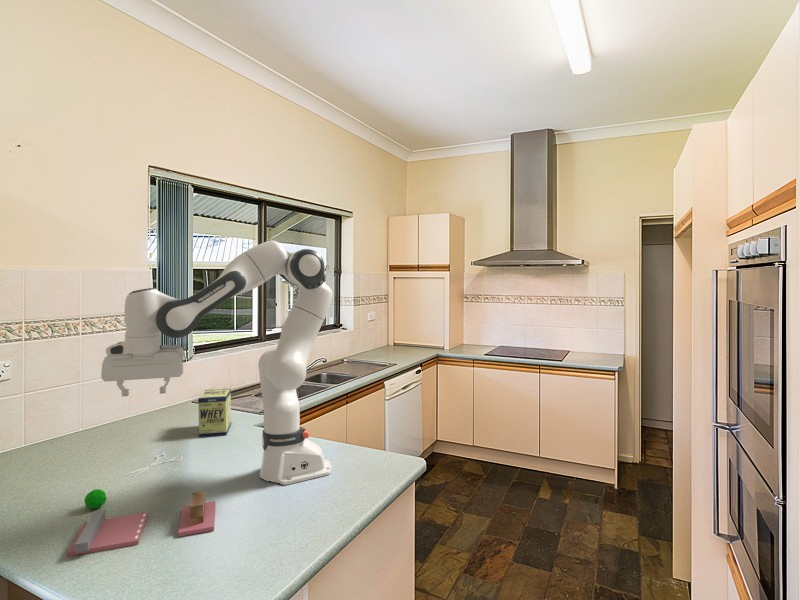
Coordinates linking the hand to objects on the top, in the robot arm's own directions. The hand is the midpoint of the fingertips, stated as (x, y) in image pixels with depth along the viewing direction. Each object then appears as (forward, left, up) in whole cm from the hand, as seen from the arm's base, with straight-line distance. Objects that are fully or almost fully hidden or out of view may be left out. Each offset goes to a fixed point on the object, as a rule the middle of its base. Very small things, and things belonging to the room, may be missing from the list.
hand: (144, 394), depth 132 cm
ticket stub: (-14, +20, -29) cm, 38 cm away
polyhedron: (+12, +3, -30) cm, 32 cm away
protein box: (-17, -55, -30) cm, 65 cm away
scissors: (+2, -24, -30) cm, 39 cm away
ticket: (+5, +20, -29) cm, 36 cm away
